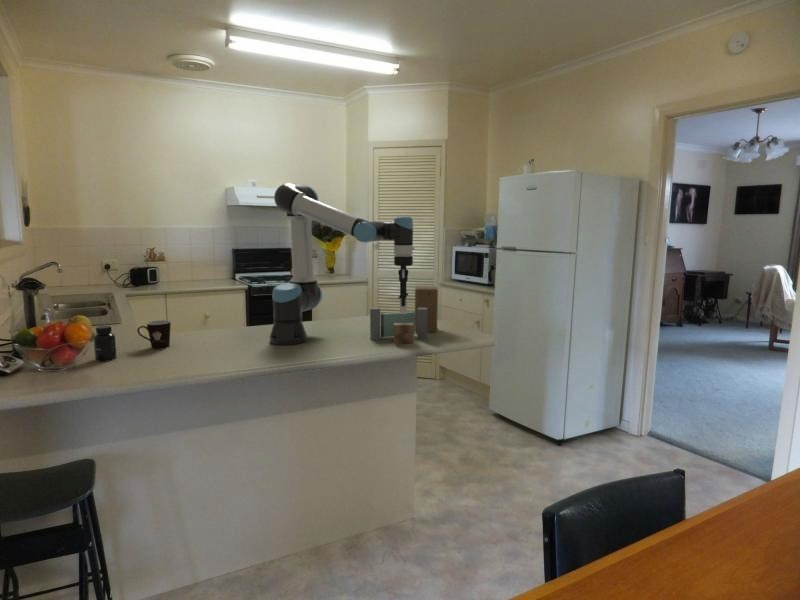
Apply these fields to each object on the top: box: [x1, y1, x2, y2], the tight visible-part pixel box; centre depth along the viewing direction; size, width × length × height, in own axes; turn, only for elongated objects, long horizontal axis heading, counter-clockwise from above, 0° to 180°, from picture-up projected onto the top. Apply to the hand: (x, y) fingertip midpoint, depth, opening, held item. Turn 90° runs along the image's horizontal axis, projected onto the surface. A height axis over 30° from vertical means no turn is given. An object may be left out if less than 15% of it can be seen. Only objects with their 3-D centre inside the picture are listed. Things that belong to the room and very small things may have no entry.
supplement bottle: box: [93, 325, 117, 362], centre depth 186 cm, size 7×7×12 cm
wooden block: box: [414, 285, 439, 334], centre depth 232 cm, size 10×10×20 cm
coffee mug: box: [137, 319, 172, 350], centre depth 203 cm, size 12×9×10 cm
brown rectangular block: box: [393, 323, 414, 345], centre depth 211 cm, size 8×5×8 cm, turn 89°
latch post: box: [416, 308, 428, 340], centre depth 218 cm, size 4×4×13 cm
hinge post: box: [369, 306, 381, 340], centre depth 218 cm, size 4×4×13 cm
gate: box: [380, 311, 416, 338], centre depth 221 cm, size 15×1×10 cm, turn 109°
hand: (403, 312), depth 209 cm, fingers open, 5 cm apart
